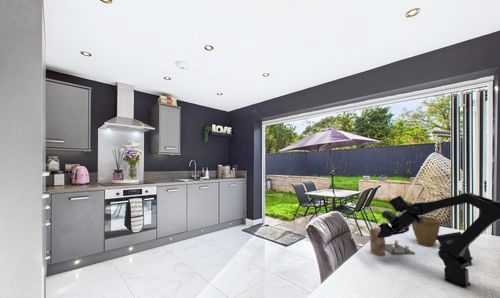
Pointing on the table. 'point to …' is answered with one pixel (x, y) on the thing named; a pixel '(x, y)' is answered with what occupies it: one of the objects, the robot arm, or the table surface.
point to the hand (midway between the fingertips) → (382, 236)
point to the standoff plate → (398, 249)
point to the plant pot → (426, 231)
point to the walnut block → (377, 242)
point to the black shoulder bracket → (453, 237)
